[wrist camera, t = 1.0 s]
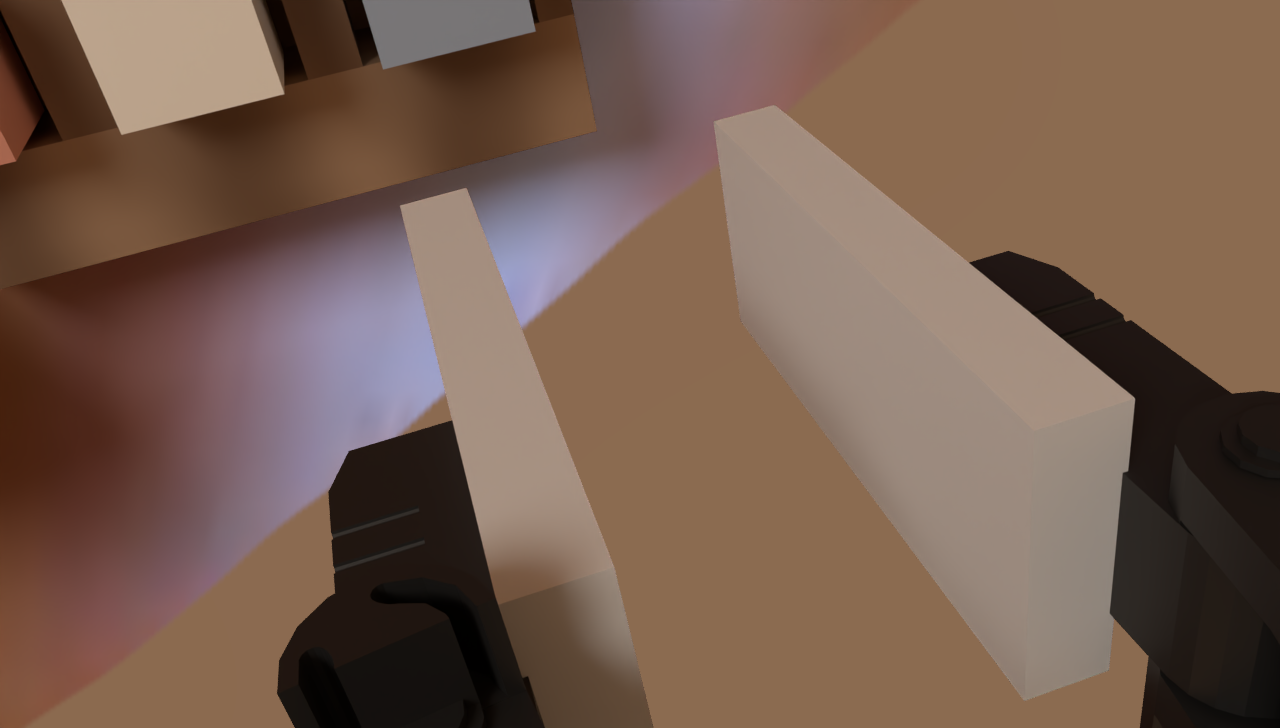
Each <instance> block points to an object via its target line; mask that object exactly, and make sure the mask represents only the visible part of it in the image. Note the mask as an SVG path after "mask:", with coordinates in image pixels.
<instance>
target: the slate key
mask: <svg viewBox="0 0 1280 728" xmlns="http://www.w3.org/2000/svg"><path fill="white" fill-rule="evenodd" d="M362 1H363V4H364V8H365V11H366V14H367V18H368V21H369V24H370V28H371V31H372V34H373V38H374V41H375V44H376V48H377V51H378V54H379V58H380V61H381V64H382V68H383V69H387V68H391V67H395V66H399V65H403V64H407V63H411V62H415V61H419V60H423V59H427V58H431V57H435V56H439V55H443V54H447V53H451V52H455V51H459V50H463V49H467V48H471V47H475V46H479V45H483V44H487V43H491V42H495V41H499V40H503V39H507V38H511V37H515V36H519V35H523V34H527V33H531V32H535V31H536V30H535V26H534V21H533V17H532V12H531V8H530V3H529V0H362Z"/></svg>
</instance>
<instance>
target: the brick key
mask: <svg viewBox="0 0 1280 728" xmlns="http://www.w3.org/2000/svg"><path fill="white" fill-rule="evenodd" d="M44 111H45V110H44V108H43V106H42V104H41V102H40V100H39V98H38V96H37V94H36V91H35V89H34V87H33V85H32V83H31V81H30V79H29V77H28V75H27V73H26V71H25V69H24V66H23V64H22V62H21V60H20V58H19V56H18V54H17V52H16V50H15V48H14V46H13V44H12V42H11V39H10V37H9V35H8V33H7V31H6V29H5V27H4V25H3V23H2V21H1V19H0V165H3V164H7V163H11V162H15V161H17V159H18V157H19V155H20V154H21V152H22V150H23V148H24V146H25V145H26V143H27V141H28V139H29V137H30V136H31V134H32V132H33V130H34V129H35V127H36V125H37V123H38V121H39V120H40V118H41V116H42V114H43V113H44Z"/></svg>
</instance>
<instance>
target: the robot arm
mask: <svg viewBox="0 0 1280 728" xmlns="http://www.w3.org/2000/svg"><path fill="white" fill-rule="evenodd" d="M714 129H715V136H716V143H717V151H718V158H719V165H720V173H721V180H722V187H723V195H724V202H725V209H726V217H727V223H728V231H729V239H730V246H731V254H732V261H733V268H734V276H735V283H736V290H737V298H738V305H739V312H740V320H741V322H742V324H743V325H744V326H745V328H746V329H747V330H748V331H749V333H750V334H751V336H752V337H753V338H754V340H755V341H756V342H757V344H758V345H759V346H760V348H761V349H762V350H763V352H764V353H765V354H766V356H767V357H768V358H769V360H770V361H771V362H772V363H773V365H774V366H775V368H776V369H777V370H778V372H779V373H780V374H781V376H782V377H783V378H784V380H785V381H786V382H787V384H788V385H789V386H790V388H791V389H792V390H793V392H794V393H795V395H796V396H797V397H798V399H799V400H800V401H801V402H802V404H803V405H804V406H805V408H806V409H807V410H808V412H809V413H810V415H811V416H812V417H813V419H814V420H815V421H816V423H817V424H818V425H819V427H820V428H821V429H822V431H823V432H824V433H825V435H826V436H827V437H828V439H829V440H830V441H831V443H832V444H833V445H834V447H835V448H836V449H837V451H838V452H839V453H840V455H841V456H842V457H843V459H844V460H845V461H846V463H847V464H848V465H849V467H850V468H851V469H852V471H853V472H854V473H855V475H856V476H857V477H858V479H859V480H860V482H861V483H862V484H863V486H864V487H865V488H866V490H867V491H868V492H869V494H870V495H871V496H872V498H873V499H874V500H875V502H876V503H877V504H878V506H879V507H880V508H881V510H882V511H883V512H884V514H885V515H886V516H887V518H888V519H889V520H890V522H891V523H892V524H893V526H894V527H895V528H896V530H897V531H898V532H899V534H900V535H901V536H902V538H903V539H904V540H905V542H906V543H907V544H908V546H909V547H910V548H911V550H912V551H913V552H914V554H915V555H916V556H917V558H918V559H919V560H920V562H921V563H922V565H923V566H924V567H925V569H926V570H927V571H928V573H929V574H930V575H931V576H932V578H933V579H934V581H935V582H936V583H937V585H938V586H939V587H940V588H941V590H942V591H943V593H944V594H945V595H946V597H947V598H948V599H949V601H950V602H951V603H952V605H953V606H954V607H955V608H956V610H957V611H958V613H959V614H960V615H961V617H962V618H963V619H964V620H965V622H966V623H967V625H968V626H969V627H970V629H971V630H972V631H973V633H974V634H975V635H976V637H977V638H978V639H979V641H980V642H981V643H982V645H983V646H984V647H985V649H986V650H987V652H988V653H989V654H990V656H991V657H992V658H993V660H994V661H995V662H996V664H997V665H998V666H999V667H1000V669H1001V670H1002V672H1003V673H1004V674H1005V676H1006V677H1007V678H1008V680H1009V681H1010V682H1011V683H1012V685H1013V686H1014V688H1015V689H1016V690H1017V692H1018V693H1019V694H1020V696H1021V697H1022V698H1023V700H1024V701H1026V700H1029V699H1031V698H1034V697H1037V696H1040V695H1042V694H1045V693H1048V692H1051V691H1053V690H1056V689H1059V688H1062V687H1064V686H1067V685H1070V684H1073V683H1076V682H1078V681H1081V680H1084V679H1087V678H1089V677H1092V676H1095V675H1098V674H1100V673H1103V672H1106V671H1109V664H1110V654H1111V643H1112V633H1113V623H1114V619H1115V620H1116V621H1117V622H1118V623H1119V624H1120V625H1121V627H1122V628H1123V629H1124V630H1125V631H1126V632H1127V633H1128V634H1129V635H1130V636H1131V637H1132V639H1133V640H1134V641H1135V642H1136V643H1137V644H1138V645H1139V646H1140V647H1141V648H1142V649H1143V651H1144V652H1145V653H1146V654H1147V655H1148V656H1149V658H1148V666H1147V674H1146V683H1145V690H1144V691H1145V692H1144V698H1143V707H1142V715H1141V723H1140V728H1280V393H1275V392H1266V391H1258V392H1247V393H1235V394H1232V393H1230V392H1229V391H1227V390H1226V389H1224V388H1223V387H1222V386H1221V385H1219V384H1218V383H1216V382H1215V381H1214V380H1212V379H1211V378H1209V377H1208V376H1207V375H1205V374H1204V373H1202V372H1201V371H1200V370H1199V369H1197V368H1196V367H1194V366H1193V365H1191V364H1190V363H1189V362H1188V361H1186V360H1185V359H1183V358H1182V357H1181V356H1179V355H1178V354H1177V353H1175V352H1174V351H1172V350H1171V349H1170V348H1168V347H1167V346H1166V345H1164V344H1163V343H1161V342H1160V341H1159V340H1157V339H1156V338H1154V337H1153V336H1152V335H1150V334H1149V333H1148V332H1146V331H1145V330H1144V329H1142V328H1141V327H1139V326H1138V325H1137V324H1135V323H1134V322H1133V321H1131V320H1130V321H1127V322H1126V321H1125V320H1124V318H1123V314H1121V313H1120V312H1118V311H1117V310H1116V309H1115V308H1113V307H1112V306H1111V305H1109V304H1108V303H1106V302H1105V301H1103V300H1102V299H1098V300H1096V299H1095V297H1094V293H1093V292H1091V291H1090V290H1088V289H1087V288H1086V287H1084V286H1083V285H1082V284H1080V283H1079V282H1077V281H1076V280H1075V279H1073V278H1072V277H1071V276H1069V275H1068V274H1066V273H1065V272H1064V271H1062V270H1061V269H1060V268H1058V267H1055V266H1052V265H1049V264H1046V263H1043V262H1040V261H1037V260H1034V259H1031V258H1028V257H1025V256H1022V255H1019V254H1016V253H1013V252H1010V251H1006V252H1003V253H1000V254H996V255H993V256H990V257H986V258H983V259H980V260H976V261H973V262H970V263H968V262H967V261H966V260H965V259H963V258H962V257H961V256H960V255H958V254H957V253H956V252H955V251H954V250H952V249H951V248H950V247H949V246H947V245H946V244H945V243H944V242H943V241H941V240H940V239H939V238H938V237H936V236H935V235H934V234H933V233H931V232H930V231H929V230H928V229H927V228H925V227H924V226H923V225H922V224H920V223H919V222H918V221H917V220H915V219H914V218H913V217H912V216H911V215H909V214H908V213H907V212H906V211H904V210H903V209H902V208H901V207H900V206H898V205H897V204H896V203H895V202H893V201H892V200H891V199H890V198H888V197H887V196H886V195H885V194H883V193H882V192H881V191H880V190H879V189H877V188H876V187H875V186H874V185H872V184H871V183H870V182H869V181H868V180H866V179H865V178H864V177H862V176H861V175H860V174H859V173H858V172H856V171H855V170H854V169H853V168H852V167H850V166H849V165H848V164H847V163H845V162H844V161H843V160H842V159H840V158H839V157H838V156H837V155H835V154H834V153H833V152H832V151H831V150H829V149H828V148H827V147H825V145H823V144H822V143H821V142H820V141H818V140H817V139H816V138H814V136H812V135H811V134H810V133H809V132H807V131H806V130H805V129H803V128H802V127H801V126H800V125H799V124H797V123H796V122H795V121H794V120H792V119H791V118H790V117H789V116H788V115H786V114H785V113H784V112H783V111H782V110H780V109H779V108H778V107H777V106H775V105H773V106H769V107H765V108H762V109H758V110H754V111H751V112H747V113H743V114H739V115H736V116H732V117H728V118H724V119H721V120H717V121H714ZM400 208H401V212H402V216H403V221H404V225H405V229H406V233H407V237H408V241H409V245H410V249H411V253H412V257H413V261H414V266H415V270H416V274H417V278H418V282H419V286H420V290H421V294H422V298H423V302H424V306H425V311H426V315H427V319H428V323H429V327H430V331H431V335H432V339H433V343H434V347H435V352H436V356H437V360H438V364H439V368H440V372H441V376H442V380H443V384H444V388H445V392H446V397H447V401H448V404H449V409H450V413H451V417H452V421H448V422H445V423H442V424H438V425H435V426H432V427H429V428H425V429H422V430H418V431H415V432H412V433H408V434H405V435H401V436H398V437H395V438H391V439H388V440H385V441H381V442H378V443H375V444H371V445H368V446H365V447H361V448H358V449H355V450H351V451H349V452H348V454H347V456H346V458H345V460H344V462H343V464H342V466H341V468H340V470H339V472H338V474H337V476H336V478H335V480H334V482H333V484H332V486H331V488H330V490H329V492H328V493H329V506H330V521H331V533H332V536H333V540H332V553H333V566H334V568H335V574H334V583H335V594H333V595H331V596H330V597H328V598H327V599H326V600H325V601H324V602H323V603H322V604H321V605H319V607H317V608H316V610H314V611H313V612H312V613H311V614H310V615H309V616H308V617H307V618H306V619H305V620H304V621H303V622H302V623H301V624H300V625H299V626H298V627H297V628H296V630H295V632H294V634H293V636H292V638H291V640H290V642H289V643H288V645H287V647H286V649H285V651H284V653H283V654H282V656H281V658H280V660H279V674H278V690H277V694H278V696H279V698H280V700H281V702H282V704H283V706H284V708H285V709H286V712H287V713H288V715H289V717H290V719H291V721H292V723H293V725H294V727H295V728H653V724H652V720H651V716H650V712H649V708H648V704H647V700H646V695H645V691H644V687H643V683H642V680H641V675H640V671H639V667H638V663H637V659H636V655H635V651H634V646H633V643H632V638H631V634H630V630H629V626H628V622H627V618H626V614H625V610H624V606H623V602H622V597H621V593H620V589H619V585H618V581H617V577H616V573H615V568H614V565H613V563H612V560H611V558H610V555H609V553H608V550H607V547H606V545H605V542H604V540H603V537H602V535H601V532H600V530H599V527H598V524H597V522H596V519H595V517H594V514H593V511H592V509H591V506H590V504H589V501H588V499H587V496H586V494H585V491H584V489H583V486H582V483H581V481H580V478H579V476H578V473H577V471H576V468H575V465H574V463H573V460H572V458H571V455H570V452H569V450H568V448H567V445H566V442H565V440H564V437H563V434H562V432H561V429H560V427H559V425H558V422H557V419H556V417H555V414H554V411H553V409H552V406H551V404H550V401H549V399H548V396H547V394H546V391H545V388H544V386H543V383H542V381H541V378H540V376H539V373H538V370H537V368H536V365H535V363H534V360H533V358H532V355H531V352H530V350H529V347H528V345H527V342H526V339H525V337H524V335H523V332H522V329H521V327H520V324H519V322H518V319H517V316H516V314H515V311H514V309H513V306H512V304H511V301H510V298H509V296H508V293H507V291H506V288H505V286H504V283H503V280H502V278H501V275H500V273H499V270H498V268H497V265H496V262H495V260H494V257H493V255H492V252H491V250H490V247H489V244H488V242H487V239H486V237H485V234H484V232H483V229H482V227H481V224H480V221H479V219H478V216H477V214H476V211H475V209H474V206H473V203H472V201H471V198H470V196H469V193H468V191H467V188H463V189H460V190H456V191H452V192H449V193H445V194H441V195H437V196H434V197H430V198H426V199H422V200H419V201H415V202H411V203H408V204H404V205H400Z"/></svg>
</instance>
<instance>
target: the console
mask: <svg viewBox="0 0 1280 728" xmlns="http://www.w3.org/2000/svg"><path fill="white" fill-rule="evenodd" d="M266 3H267V6H268V9H269V11H270V14H271V17H272V20H273V23H274V26H275V29H276V32H277V34H278V37H279V40H280V43H281V46H282V49H283V52H284V93H285V94H283V95H279V96H275V97H271V98H267V99H263V100H259V101H255V102H251V103H247V104H243V105H239V106H235V107H231V108H227V109H223V110H219V111H215V112H211V113H207V114H203V115H199V116H195V117H191V118H187V119H183V120H179V121H175V122H171V123H167V124H163V125H159V126H155V127H151V128H147V129H143V130H139V131H135V132H131V133H127V134H123V135H121V133H120V130H119V128H118V126H117V124H116V121H115V119H114V117H113V115H112V112H111V110H110V108H109V106H108V104H107V101H106V99H105V97H104V95H103V92H102V90H101V88H100V86H99V83H98V81H97V79H96V77H95V74H94V72H93V70H92V68H91V65H90V63H89V61H88V59H87V56H86V54H85V52H84V50H83V48H82V45H81V43H80V41H79V39H78V36H77V34H76V32H75V30H74V27H73V25H72V23H71V21H70V18H69V16H68V14H67V12H66V9H65V7H64V5H63V3H62V1H61V0H0V19H1V21H2V23H3V25H4V27H5V29H6V31H7V33H8V35H9V37H10V39H11V42H12V44H13V46H14V48H15V50H16V52H17V54H18V56H19V58H20V60H21V62H22V64H23V66H24V69H25V71H26V73H27V75H28V77H29V79H30V81H31V83H32V85H33V87H34V89H35V91H36V94H37V96H38V98H39V100H40V102H41V104H42V106H43V108H44V110H45V111H44V113H43V114H42V116H41V118H40V120H39V121H38V123H37V125H36V127H35V129H34V130H33V132H32V134H31V136H30V137H29V139H28V141H27V143H26V145H25V146H24V148H23V150H22V152H21V154H20V155H19V157H18V159H17V161H15V162H11V163H7V164H3V165H0V289H4V288H7V287H11V286H15V285H19V284H22V283H26V282H30V281H34V280H38V279H41V278H45V277H49V276H53V275H56V274H60V273H64V272H68V271H71V270H75V269H79V268H83V267H87V266H90V265H94V264H98V263H102V262H105V261H109V260H113V259H117V258H120V257H124V256H128V255H132V254H136V253H139V252H143V251H147V250H151V249H154V248H158V247H162V246H166V245H169V244H173V243H177V242H181V241H185V240H188V239H192V238H196V237H200V236H203V235H207V234H211V233H215V232H218V231H222V230H226V229H230V228H234V227H237V226H241V225H245V224H249V223H252V222H256V221H260V220H264V219H267V218H271V217H275V216H279V215H283V214H286V213H290V212H294V211H298V210H301V209H305V208H309V207H313V206H316V205H320V204H324V203H328V202H332V201H335V200H339V199H343V198H347V197H350V196H354V195H358V194H362V193H365V192H369V191H373V190H377V189H381V188H384V187H388V186H392V185H396V184H399V183H403V182H407V181H411V180H414V179H418V178H422V177H426V176H430V175H433V174H437V173H441V172H445V171H448V170H452V169H456V168H460V167H463V166H467V165H471V164H475V163H479V162H482V161H486V160H490V159H494V158H497V157H501V156H505V155H509V154H512V153H516V152H520V151H524V150H528V149H531V148H535V147H539V146H543V145H546V144H550V143H554V142H558V141H561V140H565V139H569V138H573V137H577V136H580V135H584V134H588V133H592V132H595V131H597V129H596V124H595V119H594V113H593V108H592V103H591V98H590V93H589V88H588V83H587V78H586V73H585V68H584V63H583V58H582V53H581V48H580V43H579V38H578V33H577V27H576V22H575V17H574V12H573V7H572V2H571V0H529V3H530V8H531V12H532V17H533V21H534V26H535V30H536V31H535V32H531V33H527V34H523V35H519V36H515V37H511V38H507V39H503V40H499V41H495V42H491V43H487V44H483V45H479V46H475V47H471V48H467V49H463V50H459V51H455V52H451V53H447V54H443V55H439V56H435V57H431V58H427V59H423V60H419V61H415V62H411V63H407V64H403V65H399V66H395V67H391V68H387V69H383V68H382V64H381V61H380V58H379V54H378V51H377V48H376V44H375V41H374V38H373V34H372V31H371V28H370V24H369V21H368V18H367V14H366V11H365V8H364V4H363V1H362V0H266Z"/></svg>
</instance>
